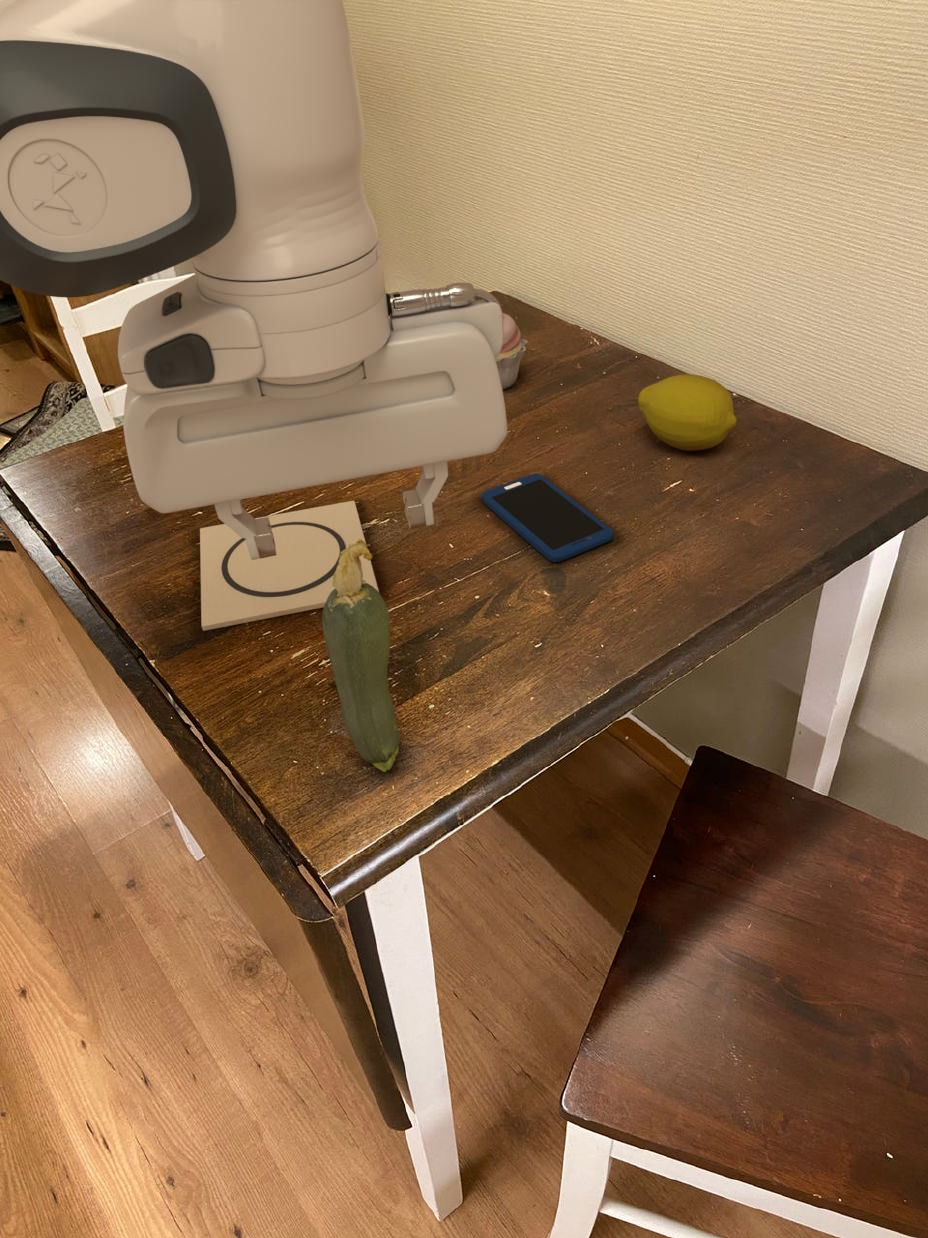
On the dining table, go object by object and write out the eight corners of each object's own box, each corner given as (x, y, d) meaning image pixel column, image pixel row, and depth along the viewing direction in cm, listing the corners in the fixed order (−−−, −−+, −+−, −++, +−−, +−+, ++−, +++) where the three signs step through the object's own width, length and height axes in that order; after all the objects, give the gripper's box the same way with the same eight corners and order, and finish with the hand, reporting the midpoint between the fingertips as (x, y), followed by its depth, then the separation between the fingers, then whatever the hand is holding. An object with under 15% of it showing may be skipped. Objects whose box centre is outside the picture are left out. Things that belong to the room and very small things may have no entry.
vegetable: (340, 767, 65) (289, 549, 52) (371, 728, 68) (330, 512, 55) (391, 787, 64) (351, 567, 51) (421, 746, 67) (390, 527, 54)
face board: (203, 631, 78) (200, 625, 78) (201, 532, 90) (199, 526, 90) (379, 596, 81) (378, 590, 80) (355, 504, 93) (354, 498, 92)
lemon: (746, 444, 97) (757, 376, 92) (710, 475, 93) (720, 405, 87) (661, 417, 103) (666, 352, 98) (623, 445, 98) (627, 378, 93)
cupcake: (538, 369, 114) (537, 292, 108) (513, 401, 108) (511, 322, 101) (471, 361, 117) (467, 286, 111) (444, 392, 111) (437, 314, 104)
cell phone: (537, 477, 94) (536, 470, 94) (617, 539, 85) (617, 532, 84) (478, 499, 92) (477, 492, 91) (554, 565, 82) (554, 559, 82)
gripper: (485, 256, 47) (497, 478, 56) (94, 317, 45) (172, 539, 54) (518, 298, 43) (525, 532, 52) (83, 368, 40) (170, 603, 49)
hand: (342, 537), depth 53 cm, fingers open, 8 cm apart
